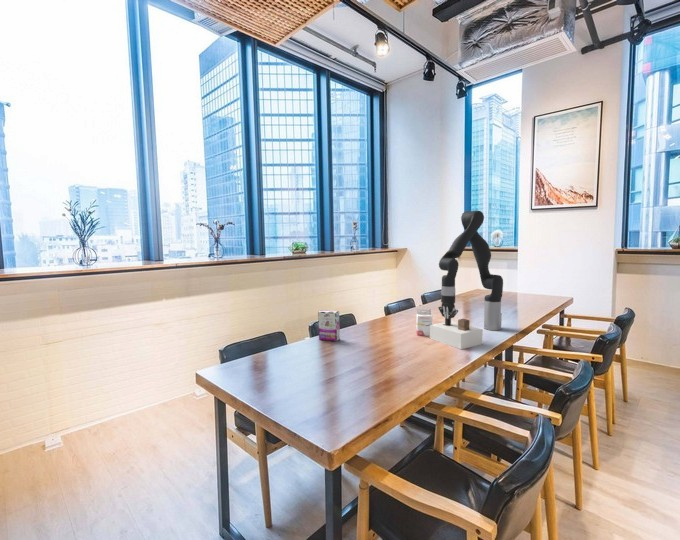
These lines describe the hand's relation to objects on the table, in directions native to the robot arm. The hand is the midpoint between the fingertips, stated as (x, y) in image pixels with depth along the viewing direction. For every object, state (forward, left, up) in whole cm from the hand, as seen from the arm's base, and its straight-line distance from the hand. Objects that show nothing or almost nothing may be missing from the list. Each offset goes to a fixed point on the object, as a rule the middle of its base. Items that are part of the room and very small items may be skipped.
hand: (447, 324), depth 196 cm
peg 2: (0, +11, -2) cm, 11 cm away
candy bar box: (+56, -35, -8) cm, 67 cm away
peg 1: (0, 0, -7) cm, 7 cm away
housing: (0, +6, -8) cm, 10 cm away
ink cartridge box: (+5, -13, -8) cm, 17 cm away
